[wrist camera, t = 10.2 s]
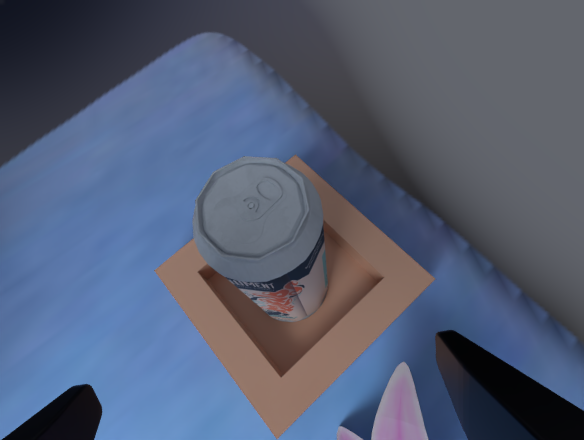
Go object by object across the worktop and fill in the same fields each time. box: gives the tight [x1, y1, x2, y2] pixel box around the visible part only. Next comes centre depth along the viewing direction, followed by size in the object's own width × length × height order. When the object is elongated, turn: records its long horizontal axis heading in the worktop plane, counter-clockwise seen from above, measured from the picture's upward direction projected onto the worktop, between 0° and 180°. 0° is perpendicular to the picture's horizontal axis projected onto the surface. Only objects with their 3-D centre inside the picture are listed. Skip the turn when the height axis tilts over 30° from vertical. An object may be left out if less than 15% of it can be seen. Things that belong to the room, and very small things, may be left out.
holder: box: [154, 155, 435, 439], centre depth 22 cm, size 12×12×3 cm
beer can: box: [193, 156, 328, 322], centre depth 17 cm, size 5×5×12 cm
